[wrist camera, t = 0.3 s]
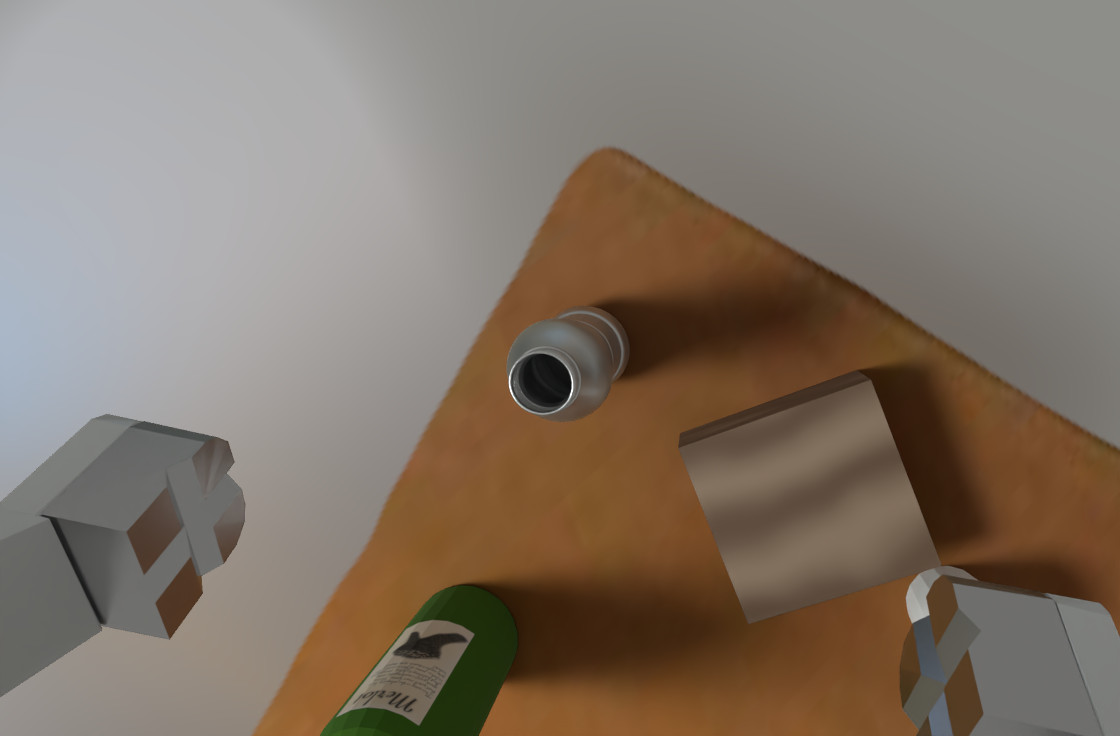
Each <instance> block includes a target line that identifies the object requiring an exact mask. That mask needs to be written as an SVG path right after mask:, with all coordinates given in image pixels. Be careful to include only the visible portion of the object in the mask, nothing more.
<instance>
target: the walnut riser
mask: <svg viewBox="0 0 1120 736" xmlns="http://www.w3.org/2000/svg"><path fill="white" fill-rule="evenodd" d="M679 451H680V453H681V456H682V458H683V461H684V463H685V466H686V468H687V471H688V473H689V476H690V478H691V481H692V483H693V486H694V488H695V491H696V493H697V496H698V499H699V501H700V504H701V506H702V509H703V511H704V514H705V516H706V519H707V521H708V524H709V526H710V529H711V531H712V534H713V536H714V539H715V541H716V544H717V546H718V549H719V551H720V554H721V556H722V559H723V561H724V564H725V566H726V569H727V571H728V574H729V576H730V579H731V582H732V584H733V587H734V589H735V592H736V594H737V597H738V599H739V602H740V604H741V607H742V609H743V612H744V614H745V617H746V619H747V622H748V624H750V623H754V622H757V621H760V620H764V619H767V618H770V617H774V616H777V615H780V614H784V613H787V612H790V611H794V610H797V609H800V608H804V607H807V606H810V605H814V604H817V603H820V602H824V601H827V600H830V599H833V598H837V597H840V596H843V595H847V594H850V593H853V592H857V591H860V590H863V589H867V588H870V587H873V586H877V585H880V584H883V583H887V582H890V581H893V580H897V579H900V578H903V577H907V576H910V575H913V574H917V573H920V572H923V571H927V570H930V569H933V568H937V567H940V566H942V565H941V562H940V560H939V557H938V555H937V552H936V549H935V547H934V544H933V541H932V539H931V536H930V534H929V531H928V528H927V526H926V523H925V520H924V518H923V515H922V512H921V510H920V507H919V505H918V502H917V499H916V497H915V494H914V491H913V489H912V486H911V484H910V481H909V478H908V476H907V473H906V470H905V468H904V465H903V463H902V460H901V457H900V455H899V452H898V449H897V447H896V444H895V442H894V439H893V436H892V434H891V431H890V428H889V426H888V423H887V420H886V418H885V415H884V413H883V410H882V407H881V405H880V402H879V399H878V397H877V394H876V392H875V389H874V386H873V384H872V381H871V379H869V378H868V377H866V376H865V375H863V374H862V373H861V372H859V371H858V370H856V371H853V372H850V373H847V374H844V375H842V376H839V377H836V378H833V379H831V380H828V381H825V382H822V383H819V384H817V385H814V386H811V387H808V388H806V389H803V390H800V391H797V392H794V393H792V394H789V395H786V396H783V397H780V398H778V399H775V400H772V401H769V402H767V403H764V404H761V405H758V406H755V407H753V408H750V409H747V410H744V411H741V412H739V413H736V414H733V415H730V416H728V417H725V418H722V419H719V420H716V421H714V422H711V423H708V424H705V425H702V426H700V427H697V428H694V429H691V430H689V431H686V432H683V433H680V439H679Z"/></svg>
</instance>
